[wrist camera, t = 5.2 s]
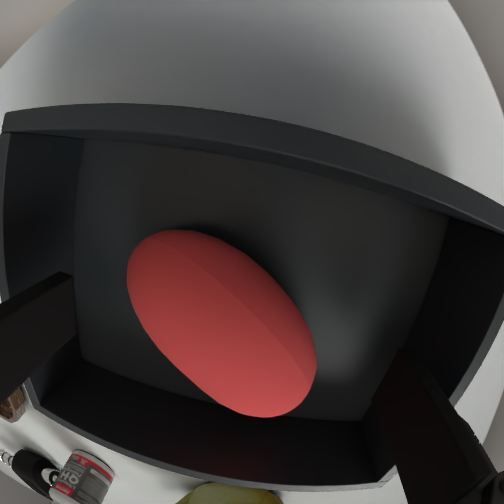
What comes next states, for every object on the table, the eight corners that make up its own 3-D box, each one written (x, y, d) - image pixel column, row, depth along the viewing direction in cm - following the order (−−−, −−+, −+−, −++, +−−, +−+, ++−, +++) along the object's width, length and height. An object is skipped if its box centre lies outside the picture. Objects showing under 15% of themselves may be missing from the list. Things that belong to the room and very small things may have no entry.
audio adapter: (85, 519, 19) (9, 477, 22) (96, 497, 24) (19, 462, 28) (37, 481, 17) (-25, 440, 20) (53, 457, 22) (-13, 425, 25)
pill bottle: (86, 447, 19) (48, 512, 10) (124, 476, 20) (96, 540, 11) (66, 449, 20) (32, 504, 11) (100, 476, 21) (73, 531, 12)
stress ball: (273, 194, 13) (164, 177, 7) (358, 374, 11) (302, 473, 6) (199, 247, 15) (95, 258, 10) (269, 396, 14) (189, 464, 8)
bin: (84, 125, 12) (4, 112, 6) (455, 204, 11) (534, 225, 6) (79, 357, 15) (33, 408, 10) (362, 420, 15) (381, 487, 10)
